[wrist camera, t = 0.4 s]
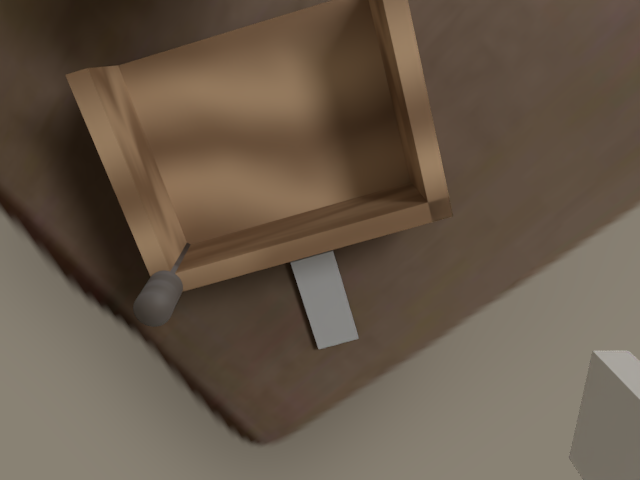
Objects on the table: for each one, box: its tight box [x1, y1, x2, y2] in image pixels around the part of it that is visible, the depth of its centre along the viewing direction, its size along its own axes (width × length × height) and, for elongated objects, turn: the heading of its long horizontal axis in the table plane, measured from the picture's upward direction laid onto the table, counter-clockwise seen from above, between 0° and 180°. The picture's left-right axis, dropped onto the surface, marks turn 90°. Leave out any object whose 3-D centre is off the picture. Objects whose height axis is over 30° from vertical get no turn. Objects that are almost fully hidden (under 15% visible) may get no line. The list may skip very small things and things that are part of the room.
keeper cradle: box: [66, 0, 453, 326], centre depth 31 cm, size 13×18×9 cm
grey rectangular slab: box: [290, 250, 359, 349], centre depth 38 cm, size 7×3×1 cm, turn 16°
